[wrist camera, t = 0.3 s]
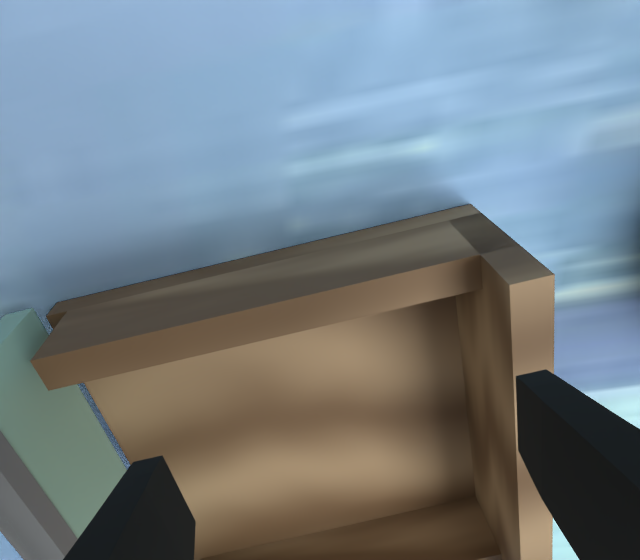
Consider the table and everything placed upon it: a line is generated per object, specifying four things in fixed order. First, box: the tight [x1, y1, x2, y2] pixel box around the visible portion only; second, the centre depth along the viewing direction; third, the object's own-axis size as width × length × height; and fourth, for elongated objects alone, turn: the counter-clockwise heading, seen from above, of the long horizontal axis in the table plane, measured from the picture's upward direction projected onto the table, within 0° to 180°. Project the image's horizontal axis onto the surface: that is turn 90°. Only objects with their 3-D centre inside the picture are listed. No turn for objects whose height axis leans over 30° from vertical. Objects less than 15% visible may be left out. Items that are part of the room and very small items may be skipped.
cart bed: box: [30, 204, 555, 560], centre depth 19 cm, size 16×16×6 cm
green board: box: [0, 308, 127, 560], centre depth 18 cm, size 17×1×5 cm, turn 12°
